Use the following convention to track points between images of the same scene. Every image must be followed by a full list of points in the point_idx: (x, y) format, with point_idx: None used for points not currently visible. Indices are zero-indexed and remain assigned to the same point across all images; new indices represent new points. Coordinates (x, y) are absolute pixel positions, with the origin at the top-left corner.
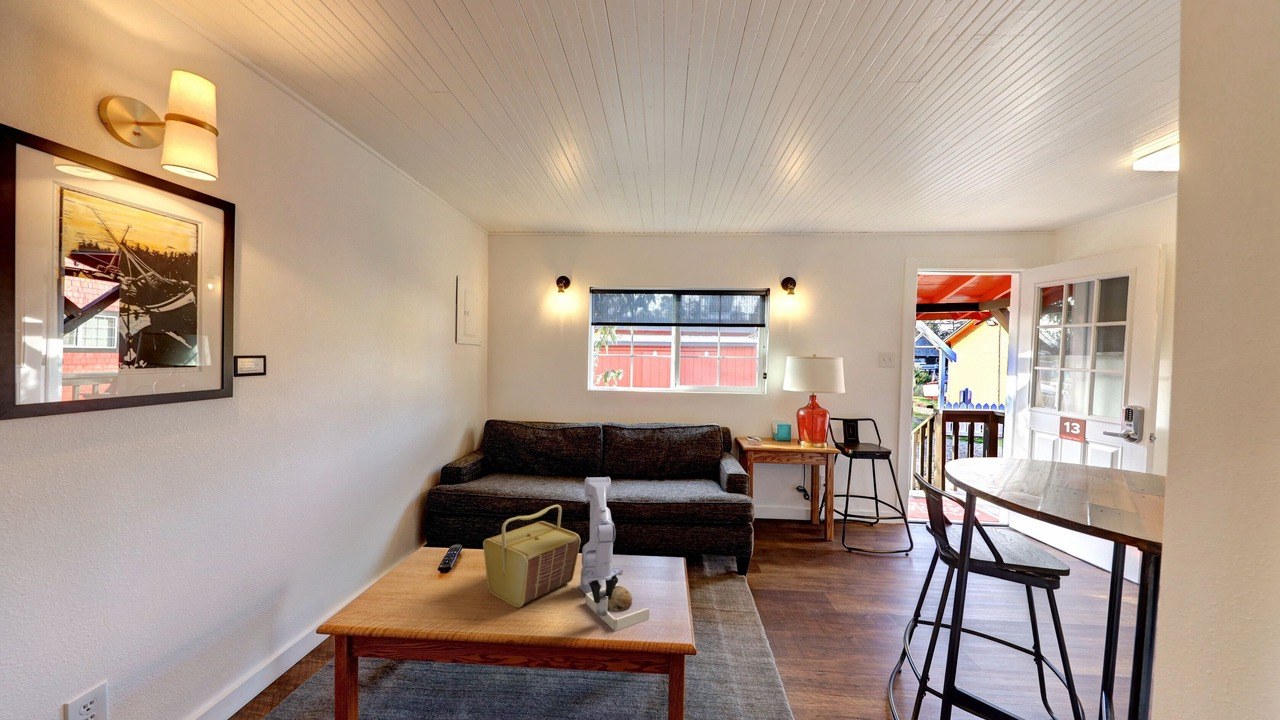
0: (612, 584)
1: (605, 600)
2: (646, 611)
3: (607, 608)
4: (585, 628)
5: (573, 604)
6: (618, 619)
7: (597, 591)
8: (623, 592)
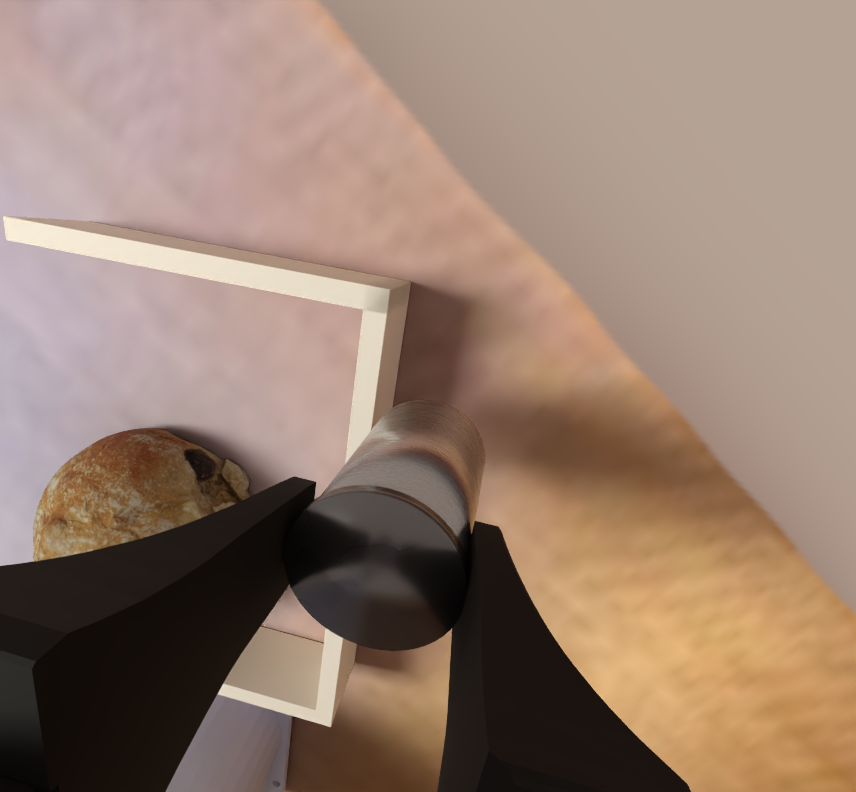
0: (131, 598)
1: (394, 477)
2: (50, 222)
3: (380, 428)
4: (559, 467)
5: (423, 704)
6: (351, 281)
7: (543, 662)
8: (79, 532)
